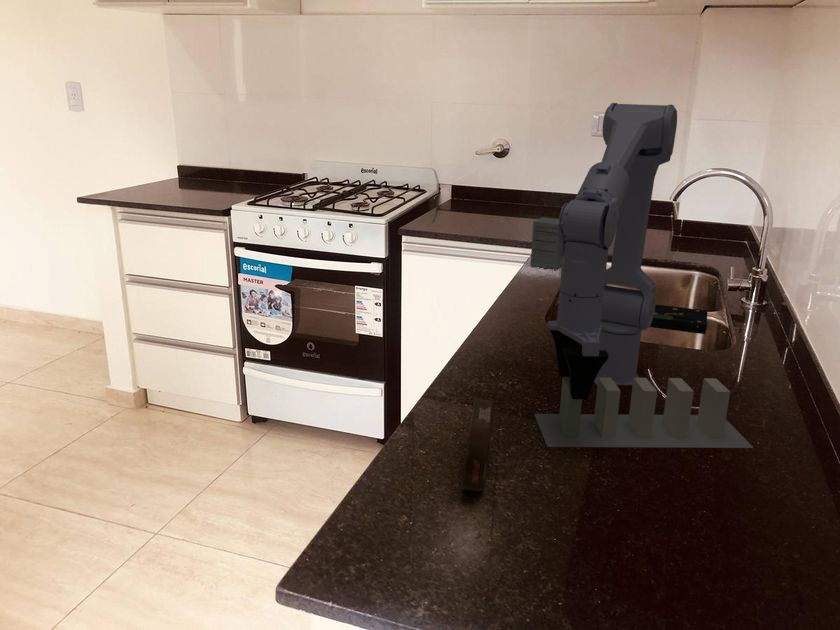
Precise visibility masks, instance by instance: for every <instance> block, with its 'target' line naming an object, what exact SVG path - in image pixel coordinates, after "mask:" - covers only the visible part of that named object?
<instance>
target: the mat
mask: <svg viewBox="0 0 840 630" xmlns="http://www.w3.org/2000/svg"><path fill="white" fill-rule="evenodd" d="M594 414H595V413H594ZM594 414H592V413H591V414H590V413H587V414H585V413H581V417H580V428H579V437H565V435H564V433H563V430H562V428H561V426H560V424H559V415H560V413H534V417H535V419H536V423H537V424H538V427H539V429H540V432H541V434H542V437H543V439H544V443H545V445H546V447H547V448H655V449H656V448H665V449H666V448H670V449H672V448H673V449H678V448H681V449H682V448H683V449H685V448H688V449H689V448H690V449H754V446H753V445H752V444H751V443H750V442H749V441H748V440H747V439H746V438H745V437H744V436H743V435H742V434H741V433H740V432H739V431H738V430H737V428H735V427H734V426H733V425H732V424H731V422H729V421H728V419H726V421H725V427H724V433H723V438H709V437H708V436H707V434H706V433H705V432H704V431H703V430H702V429H701V428H700V426H699V425H698V424H697V418H698V414H690V421H689V428H688V434H687V438H674V437H673V436H672V435H671V433H670V432H669V431H668V429H667V428H666V427H665V426H664V424H663V416H664V414H654V420H653V427H652V435H651V438H638V437H637V435H636V434H635V432H634V431H633V429H632V428H631V426H630V425H629V423H628V420H629V414H618V417H617V426H616V435H615V438H604V437H602V436H601V435H600V433H599V431H598V429H597V427H596V426H595V424H594Z"/></svg>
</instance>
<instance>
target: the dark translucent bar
mask: <svg viewBox="0 0 840 630" xmlns="http://www.w3.org/2000/svg"><path fill="white" fill-rule="evenodd" d="M472 407H473V408H472V411H471V420H470V423H469V429H468V430H469V431H468V436H467V437H468V438H467V444H466V451H465V452H466V453H465V460H464V461H465V462H464V467H463V475H462V483H461V490H462V491H464V490H467V491H471V492H472V491H473V492H482V491H484V489H485V481H486V480H485V479H486V473H487V462H488V458H489V451H490V443H491V438H492V437H491V436H492V431H493V430H492V429H493V421H494V413H495V412H494V410H495V409H494V408H495V402H494V401H493V400H490V399H485V398H478V397H476V396H475V397H474V399H473V406H472Z"/></svg>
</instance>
